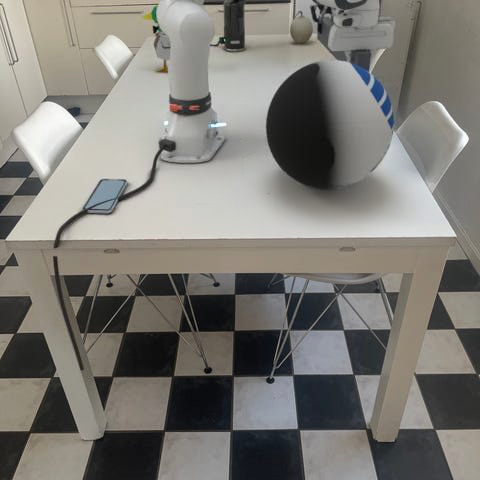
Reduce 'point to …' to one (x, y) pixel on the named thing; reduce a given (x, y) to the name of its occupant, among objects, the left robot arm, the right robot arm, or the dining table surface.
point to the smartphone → (105, 195)
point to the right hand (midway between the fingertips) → (325, 32)
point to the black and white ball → (329, 124)
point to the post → (358, 56)
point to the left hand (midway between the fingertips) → (357, 63)
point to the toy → (160, 40)
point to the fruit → (301, 29)
